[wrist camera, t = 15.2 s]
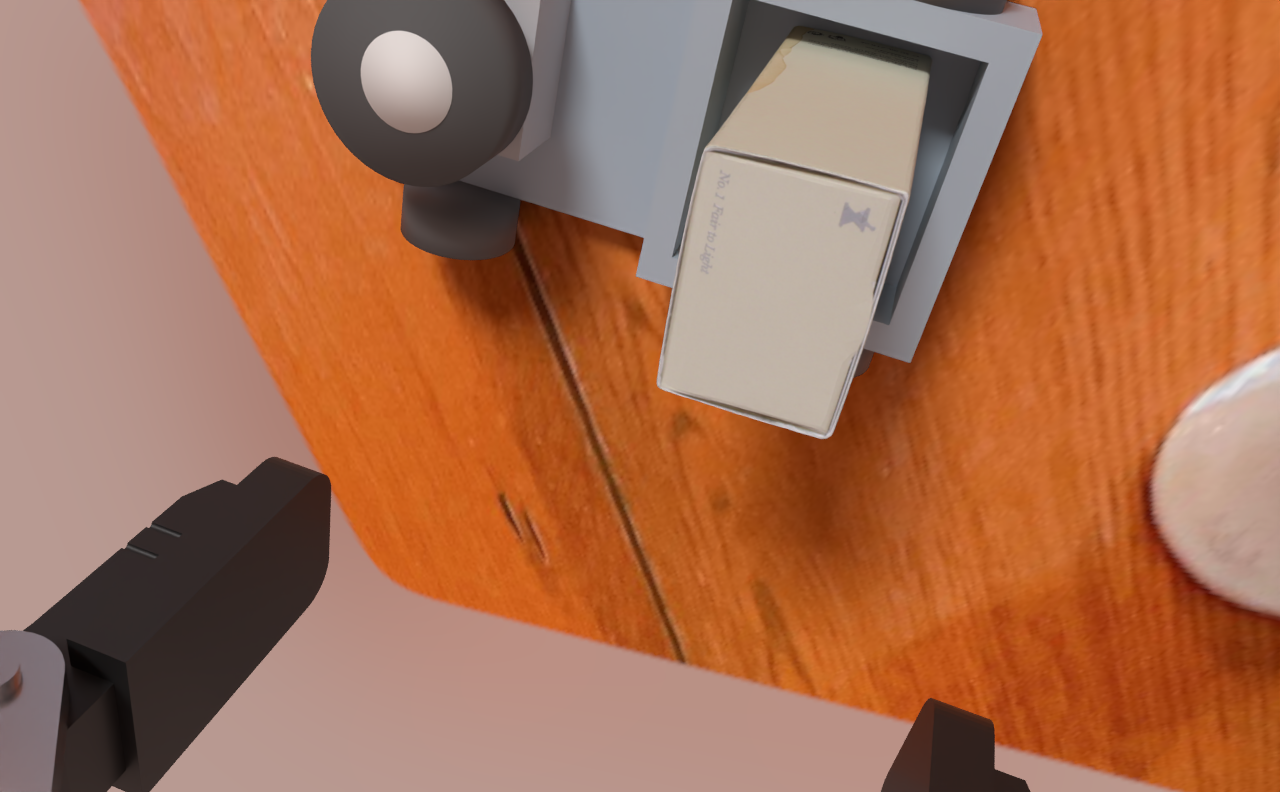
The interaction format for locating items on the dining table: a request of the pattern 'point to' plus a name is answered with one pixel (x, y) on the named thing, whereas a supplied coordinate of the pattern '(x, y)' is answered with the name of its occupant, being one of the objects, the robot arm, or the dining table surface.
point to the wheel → (422, 83)
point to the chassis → (698, 107)
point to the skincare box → (795, 231)
